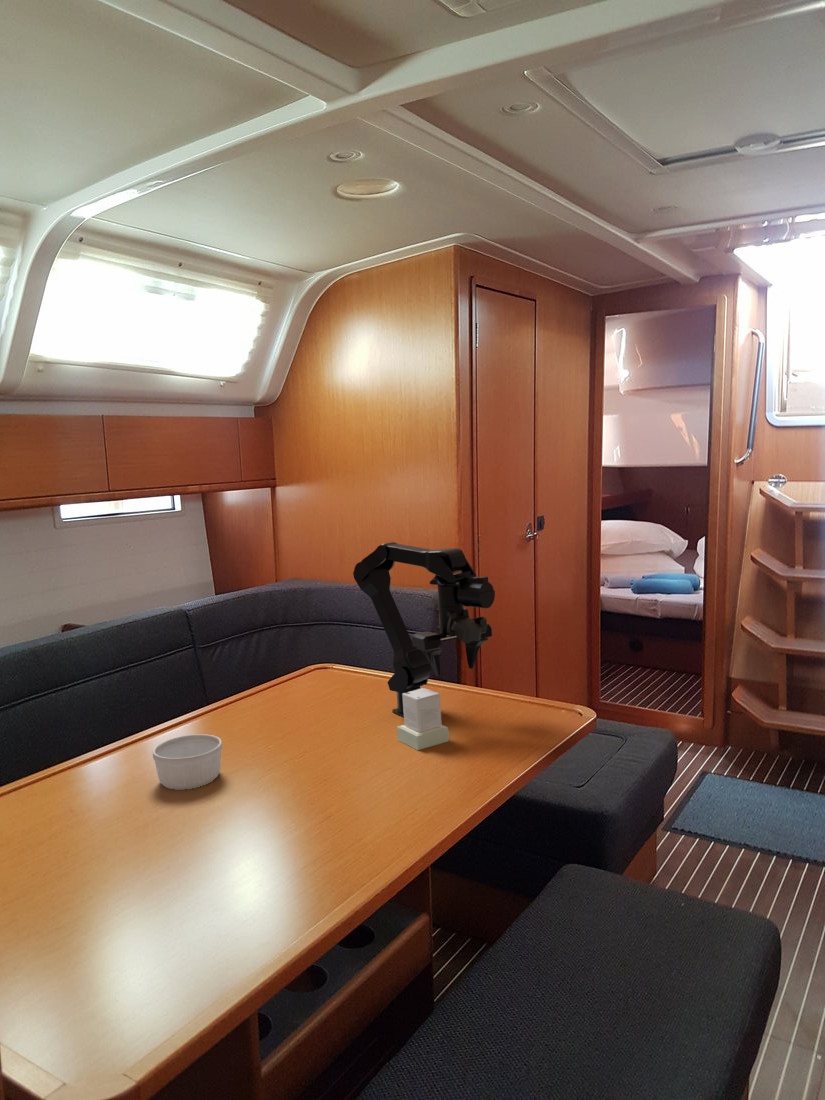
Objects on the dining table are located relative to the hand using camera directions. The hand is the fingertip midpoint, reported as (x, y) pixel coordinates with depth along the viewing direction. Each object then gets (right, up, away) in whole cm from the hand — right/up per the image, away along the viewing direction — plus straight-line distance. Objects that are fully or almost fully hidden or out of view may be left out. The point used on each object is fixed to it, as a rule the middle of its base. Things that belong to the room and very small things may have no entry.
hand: (454, 672), depth 174 cm
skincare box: (-7, -11, -9) cm, 15 cm away
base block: (-7, -13, -8) cm, 17 cm away
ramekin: (-54, -18, -22) cm, 61 cm away
